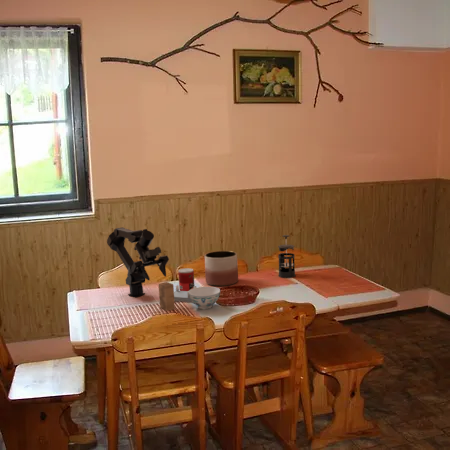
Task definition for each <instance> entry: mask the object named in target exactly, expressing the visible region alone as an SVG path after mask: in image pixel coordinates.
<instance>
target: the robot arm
mask: <svg viewBox="0 0 450 450" xmlns="http://www.w3.org/2000/svg"><path fill="white" fill-rule="evenodd" d="M154 238H155V235H154V233H153V232H152V231H150V230H148V229H147V228H144V229H137V230H133V229H132V230H131V229H128V228H125V227H124V226H123V227H116V228H114V229H113V231H112V232H111V233H110V234H109V235H108V236H107V239H106V243H107V246H108V247H109V249H110V250H111V251H114V252H116V254H117V255H118V257H119V259H120V260H121V261H122V263H123V265H124V267H125V269H126V270H127V274H126V278H125V285H128V286H129V293H128V294H127V296H128V295H129V296H128V297H133V298H134V297H135V298H139V297H141V296H144V295H145V294H146V292H144V287H143V283H146V280H147V282H148V281H150V276H149V274H148V272H147V270H146V267H149V266H154V265H157V267H158V269H159V271H160V272H161V274H162V275H163V276H164V277H167V270H166V265H167V264H168V262H169V260H170V258H169V256H168V255H166V254H165V255H161V256H159V255H160V254H162V250H161V247H160V246H156V247H154V248H153V249H150V246H151V243H152V242H153V240H154ZM126 239H127V241H128V242H129V243H131V244H133V243H134V248H133V250H134V251H136V252H137V253H138V255H139V257H138V258H139V260H137V261H134V260H133V258H132V256H131V254H130V253H129V252H128V250H127V249H126V246H125V243H126ZM157 256H159V257H158V259H157Z"/></svg>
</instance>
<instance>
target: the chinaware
mask: <svg viewBox="0 0 450 450" xmlns="http://www.w3.org/2000/svg"><path fill="white" fill-rule="evenodd" d="M188 293H189V297H190V299H191V302H192V303H193V305H195V306H197V308H198V309H200V310H208V309H211V308H212V307H213V305H215V303H216V302H217V301H218V300H219V297H220V295H221V289H220V288H219V287H217V286H198V287H197V286H196V288H193V289H191V290H189V292H188Z"/></svg>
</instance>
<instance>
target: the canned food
mask: <svg viewBox="0 0 450 450" xmlns="http://www.w3.org/2000/svg"><path fill="white" fill-rule="evenodd" d="M178 286H179V291H189V290H191V289H193V288H194V286H195V272H194V269H193V268H188V267H187V268H180V269H178Z"/></svg>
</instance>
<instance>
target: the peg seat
mask: <svg viewBox="0 0 450 450" xmlns="http://www.w3.org/2000/svg"><path fill="white" fill-rule="evenodd" d="M194 288H197V286H195V285H194ZM188 292H189V291H180V289H179V284H177V285H176V284H175V290H174V302H183V303H184V302H186V303H187V302H189V303H191V302H192V301H191V299H190V297H189V293H188Z"/></svg>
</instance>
